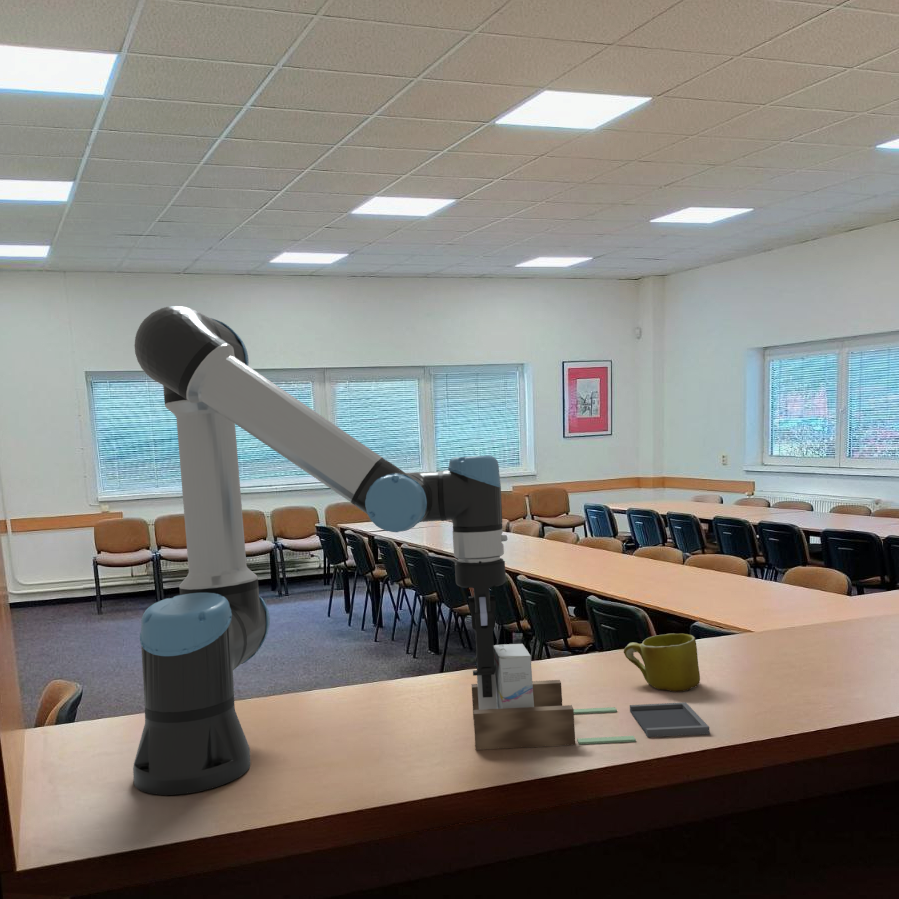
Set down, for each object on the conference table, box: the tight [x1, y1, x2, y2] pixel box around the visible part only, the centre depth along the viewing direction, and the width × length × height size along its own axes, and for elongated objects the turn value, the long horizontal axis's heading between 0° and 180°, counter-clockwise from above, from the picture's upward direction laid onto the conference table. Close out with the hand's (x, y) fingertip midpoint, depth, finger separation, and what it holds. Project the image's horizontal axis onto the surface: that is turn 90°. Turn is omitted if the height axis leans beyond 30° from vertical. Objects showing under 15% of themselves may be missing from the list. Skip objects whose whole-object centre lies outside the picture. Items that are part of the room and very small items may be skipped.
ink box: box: [494, 643, 534, 709], centre depth 120 cm, size 9×5×12 cm, turn 4°
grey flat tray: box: [629, 701, 711, 738], centre depth 120 cm, size 9×12×1 cm
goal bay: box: [573, 706, 637, 745], centre depth 120 cm, size 8×15×1 cm, turn 0°
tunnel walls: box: [471, 679, 576, 751], centre depth 120 cm, size 14×15×5 cm
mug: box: [623, 633, 701, 693], centre depth 139 cm, size 12×10×10 cm
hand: (488, 716), depth 120 cm, fingers closed
